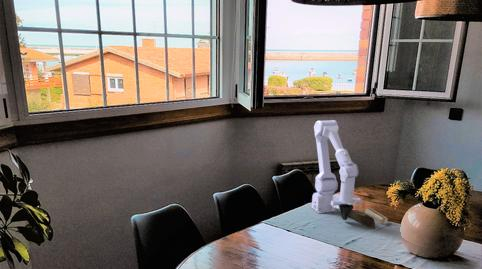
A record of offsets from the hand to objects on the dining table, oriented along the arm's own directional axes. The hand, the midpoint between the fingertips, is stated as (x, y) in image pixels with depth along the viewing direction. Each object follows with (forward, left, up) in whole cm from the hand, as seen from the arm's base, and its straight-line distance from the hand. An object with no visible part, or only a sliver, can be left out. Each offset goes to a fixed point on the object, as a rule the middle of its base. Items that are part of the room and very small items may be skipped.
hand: (344, 219), depth 162 cm
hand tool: (+8, 0, -2) cm, 8 cm away
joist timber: (+17, 0, -1) cm, 17 cm away
